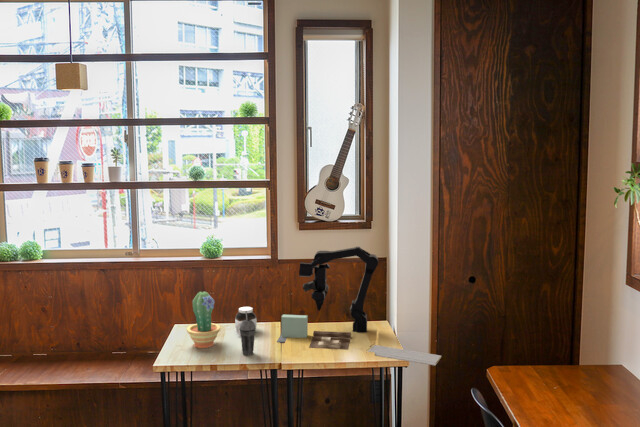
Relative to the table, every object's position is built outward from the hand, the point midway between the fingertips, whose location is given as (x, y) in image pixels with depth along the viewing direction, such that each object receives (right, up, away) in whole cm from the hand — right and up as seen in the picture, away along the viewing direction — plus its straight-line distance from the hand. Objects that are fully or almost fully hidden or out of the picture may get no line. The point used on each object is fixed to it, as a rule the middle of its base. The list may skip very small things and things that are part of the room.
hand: (320, 307), depth 298 cm
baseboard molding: (+37, -17, -32) cm, 51 cm away
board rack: (+5, -14, -16) cm, 22 cm away
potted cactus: (-54, -14, -18) cm, 59 cm away
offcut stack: (+4, -14, -22) cm, 26 cm away
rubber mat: (-12, -13, -8) cm, 20 cm away
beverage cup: (-32, -16, -29) cm, 46 cm away
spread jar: (-37, -12, -1) cm, 39 cm away
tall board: (-12, -13, -8) cm, 19 cm away
